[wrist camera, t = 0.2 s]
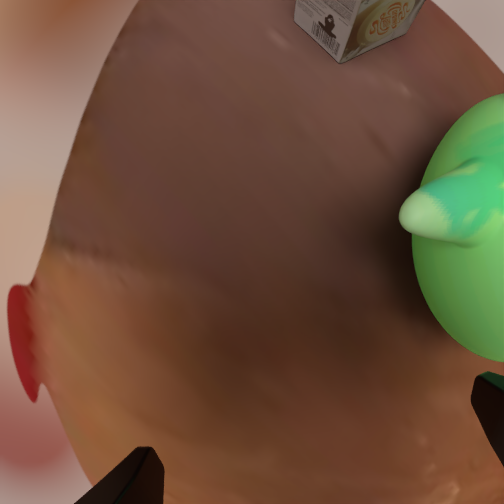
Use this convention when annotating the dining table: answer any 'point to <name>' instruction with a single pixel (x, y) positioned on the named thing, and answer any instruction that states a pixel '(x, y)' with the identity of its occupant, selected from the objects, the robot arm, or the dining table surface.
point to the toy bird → (464, 230)
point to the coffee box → (355, 23)
